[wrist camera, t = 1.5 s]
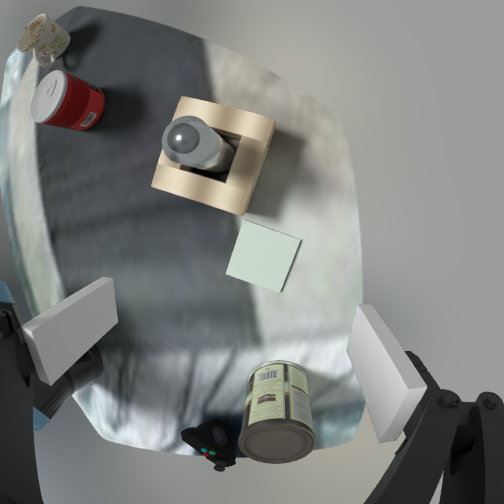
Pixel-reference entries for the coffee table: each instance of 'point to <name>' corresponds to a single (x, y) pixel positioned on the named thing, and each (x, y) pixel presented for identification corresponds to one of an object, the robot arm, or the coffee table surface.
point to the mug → (43, 40)
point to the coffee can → (277, 414)
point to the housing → (244, 164)
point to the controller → (212, 443)
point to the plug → (196, 145)
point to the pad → (262, 256)
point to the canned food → (67, 102)
